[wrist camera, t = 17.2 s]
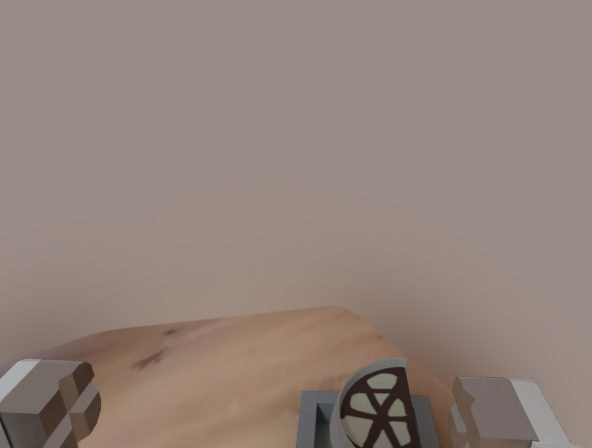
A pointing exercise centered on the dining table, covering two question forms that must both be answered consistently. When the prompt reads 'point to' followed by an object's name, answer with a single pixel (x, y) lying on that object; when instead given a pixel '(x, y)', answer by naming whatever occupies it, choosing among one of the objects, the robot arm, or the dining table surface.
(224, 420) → the dining table surface
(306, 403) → the tray
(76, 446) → the robot arm
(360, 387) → the food container
